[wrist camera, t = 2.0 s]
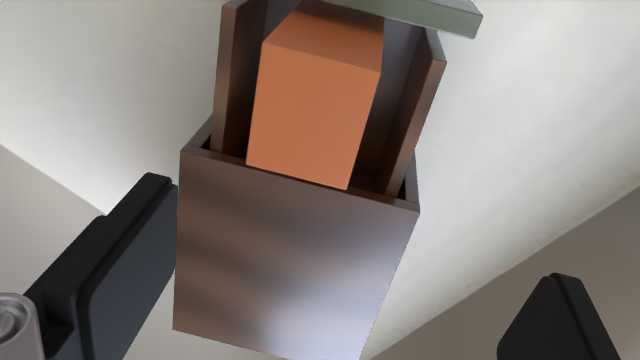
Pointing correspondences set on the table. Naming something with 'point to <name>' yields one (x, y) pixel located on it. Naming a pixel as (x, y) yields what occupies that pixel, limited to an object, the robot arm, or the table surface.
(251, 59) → the drawer
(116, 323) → the robot arm
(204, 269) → the cabinet
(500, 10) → the table surface
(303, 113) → the box
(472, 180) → the table surface
